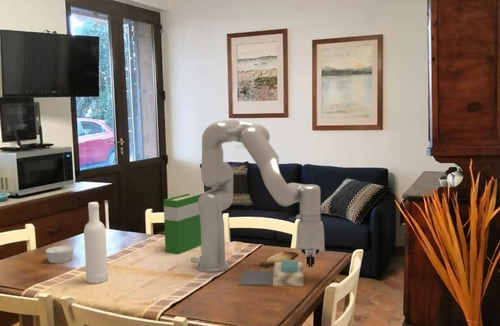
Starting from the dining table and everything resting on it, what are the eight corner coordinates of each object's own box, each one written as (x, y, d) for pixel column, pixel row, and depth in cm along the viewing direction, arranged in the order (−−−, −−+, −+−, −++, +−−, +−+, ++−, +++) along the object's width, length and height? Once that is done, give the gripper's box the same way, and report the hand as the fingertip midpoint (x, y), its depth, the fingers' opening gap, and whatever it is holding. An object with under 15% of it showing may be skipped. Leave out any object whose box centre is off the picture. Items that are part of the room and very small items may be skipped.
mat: (238, 285, 194) (238, 284, 194) (243, 271, 210) (243, 270, 210) (271, 285, 193) (271, 284, 193) (273, 271, 209) (273, 270, 209)
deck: (272, 285, 193) (272, 275, 193) (274, 271, 209) (274, 261, 208) (303, 286, 192) (303, 275, 192) (302, 272, 208) (302, 262, 208)
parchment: (284, 251, 238) (284, 249, 238) (303, 254, 232) (303, 252, 232) (252, 266, 218) (252, 264, 218) (272, 270, 212) (272, 268, 212)
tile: (281, 272, 196) (281, 266, 196) (282, 264, 205) (282, 259, 205) (297, 272, 195) (297, 267, 195) (297, 264, 204) (297, 259, 204)
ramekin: (40, 263, 226) (39, 251, 226) (59, 255, 237) (58, 244, 236) (61, 265, 222) (60, 253, 222) (79, 258, 233) (78, 246, 232)
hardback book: (189, 243, 254) (187, 193, 252) (202, 245, 251) (200, 194, 248) (165, 252, 239) (163, 199, 237) (178, 254, 235) (176, 201, 233)
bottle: (85, 278, 205) (81, 201, 201) (106, 275, 208) (102, 200, 204) (87, 285, 197) (83, 205, 194) (109, 282, 200) (105, 203, 197)
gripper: (289, 220, 194) (290, 269, 196) (331, 220, 193) (331, 269, 195) (290, 215, 202) (290, 263, 204) (329, 215, 200) (329, 263, 202)
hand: (310, 266), depth 199 cm, fingers closed
